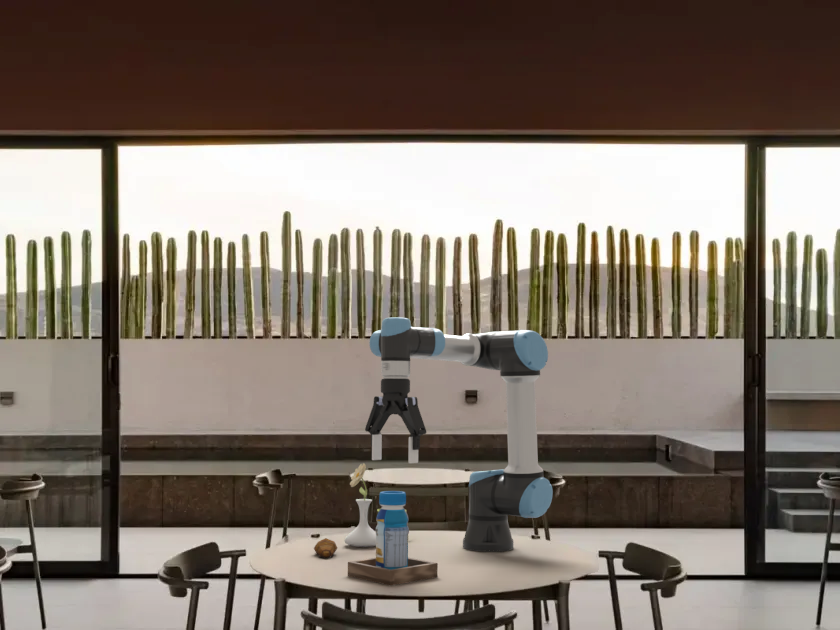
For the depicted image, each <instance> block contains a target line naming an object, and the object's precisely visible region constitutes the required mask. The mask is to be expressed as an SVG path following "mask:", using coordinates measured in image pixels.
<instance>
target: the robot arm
mask: <svg viewBox="0 0 840 630" xmlns="http://www.w3.org/2000/svg"><path fill="white" fill-rule="evenodd" d="M545 341H546V340H545V339H544V338H543V337H542V336H541V334H540V333H538V332H537V331H536V330H535V331H534V330H529V329H518V330H517V329H516V330H501V331H497V330H496V331H489V332H483V333H465V334H463V335H453V334H452V335H451V334H445V333H444V332H443V331H442V330H441V329H439V328H434V327H431V326H430V327H418V326H412V324H411V320H410V318H407V317H386V318H384V319H383V320H382V321H381V328H380V329H379V330H376V331H374V332H373V333H372V334H371V336H370V338H369V349H370V350H371V353H372V354H373V355H374V356H376V357H380V362H381V363H380V370H381V371H380V375H381V377H382V378H381V380H380V393H382V394H383V395H381V396H373V397H374V398H373V405H372V408H371V411H370V413H369V416H368V420H367V422H366V425H365V428H364V429H365V432H368V433H369V434H370V446H371V460H372V461H381V460H382V457H383V456H382V455H383V454H382V449H383V446H382V445H383V441H382V440H383V438H382V436H383V435H382V432H381V431H382V429H383V428H384V426H385V424H386V422H388V419H389V418H390V417H391V416H392V415H398V416H399V417H400V418H401V420H402V422H403V423H404V425H405V427H406V429H407V431H408V432H409V434H410V435H409V437H408V462H407V463H408V464H418V463H419V450H420V449H421V445H420V444H421V436H423V435H426V434H427V429H426V426H425V423H424V420H423V418H422V415H421V411H420V409H419V405H418V404H419V403H418V402H419V401H418V398H417V397H416V396H409V395H408V394H410V392H411V380H410V379H409V377H411V359H420V360H421V359H422V360H432V361H433V360H434V361H447V362H459V363H461V364H462V365H464V366H467V367H468V366H470V367H476V368H481V369H485V370H486V369H487V370H491V371H492V370H493V371H499V376H500V378H501V379H502V380H503V381H504V383H505V396H506V397H505V399H506V400H505V401H506V403H505V405H506V426H507V427H506V433H507V435H506V436H507V461H508V462H507V463H508V464H507V466H506V467H505V468H504V469H493V470H483V471H482V470H480V471H479V470H478V471H473V472H472V473H471V474H470V476H469V481H468V482H469V484H468V523H467V525H466V529H465V534H464V537H463V539H462V548H463V549H465V550H469V551H477V552H505V551H506V552H507V551H511V550H514V539H513V537H512V534H511V533H512V532H511V529H510V525H509V522H508V518H509V517H508V516H512V517H513V516H514V517H515V516H516V517H521V518H525V519H528V518H529V519H530V518H531V519H532V518H533V519H534V518H535V519H536V518H539V517H542V516H543V515H544V514H546V513H547V511H548V509H550V507H551V503H552V500H553V493H554V491H553V486H552V484H551V483H550V482H551V481H550V480H549V479H548V478H546V477H544V475H545V474H544V468H542V467H541V466H540V465H539V461H538V460H539V459H538V458H539V457H538V455H539V454H538V429H537V426H538V425H537V400H536V399H537V398H536V397H537V395H536V394H537V393H536V381H537V380H538V379H539V378H540V377H541V370H542V369H544V367H545V366H546V365H547V362H548V358H549V351H548V346H547V343H546V342H545ZM545 368H546V367H545Z"/></svg>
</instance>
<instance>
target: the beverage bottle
mask: <svg viewBox="0 0 840 630" xmlns="http://www.w3.org/2000/svg"><path fill="white" fill-rule="evenodd" d="M378 495H379V499H378V500H379V501H378V503H379V506H381V508H379V509H380V511H379V513H378V512H377V515H376V519H375V520H376V523H377V525H376V527H375V532H376V546H375V558H376V567H381V568H386V569H397V568H404V567H408V558H409V533H410V528H409V526H408V522H409V515H408V513H407V511H405V510H406V509H405V508H404V507H406V504H407V493H406V491H402V490H401V491H400V490H384V491H380V492H379V494H378Z"/></svg>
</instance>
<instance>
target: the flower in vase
mask: <svg viewBox="0 0 840 630" xmlns="http://www.w3.org/2000/svg"><path fill="white" fill-rule="evenodd" d="M365 472H366V464H365V463H364V462H363V463H360V465H359V466H358V467H356V468H355V470H354V473H353V475H352V476H351V478H350V480H351V481H350V482H349V485H350V487H351V488H354V487H355V486H356V485H358V484H359V483H360V481H361V480H362V482H363V485H364V488H363V487H362V486H360V488H359V489H358V490H359V493H360V494H361V495H363V498H359V499H358V498H356V499H355V502H356V503H357V505H358V508H359V509H358V510H359V523H358V525H357V526H356V527H355V528H354V529H353V530H352V531H351V532H349V534H347V535H346V537H345V538H344V543H345V544H346V545H348V546H351V547H356V548H357V547H359V548H370V547H374V546H375V547H376V530H374V529H373V528H371V526H370V525H369V523H368V514H369V508H370V504H371V503H372V501H373V499H371V498H370V499H369V498H366V497H367V495H368V489H367V486H366V483H365V480H364V479H363V477H364V475H365Z"/></svg>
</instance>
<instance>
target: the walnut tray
mask: <svg viewBox="0 0 840 630" xmlns="http://www.w3.org/2000/svg"><path fill="white" fill-rule="evenodd" d="M438 565H439V564H438V562H433V561H428V560H425V559H424V560H422V559H418V558H413V557H408V567H404V568H397V569H386V568H381V567H376V557H372V558H366V559H358V560H351V561H347V577H351V578H354V579H358V580H359V579H360V580H364V581H368V582H371V583H372V582H373V583H376V584H377V583H378V584H382V585H386V586H390V587H391V586H396V585H401V584H408V583H413V582H419V581H424V580H430V579H435V578H438V567H439V566H438Z"/></svg>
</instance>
